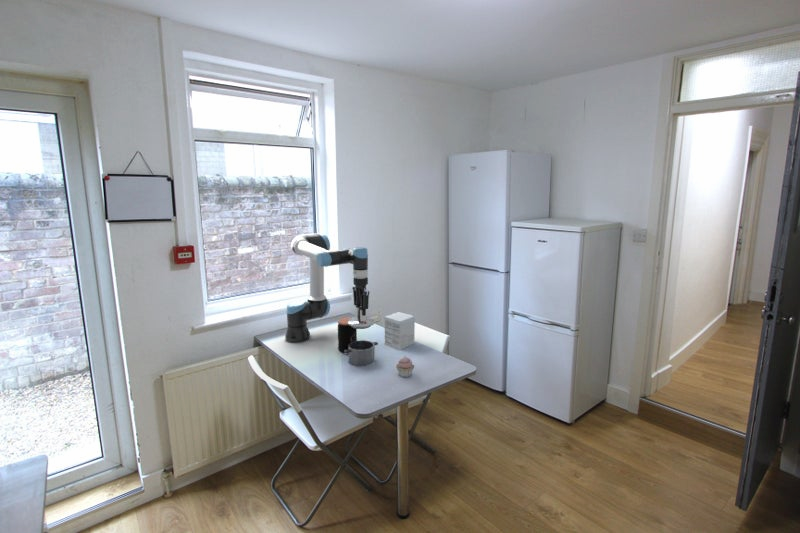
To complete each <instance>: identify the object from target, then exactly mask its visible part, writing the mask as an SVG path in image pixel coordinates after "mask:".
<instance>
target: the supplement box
mask: <svg viewBox="0 0 800 533" xmlns="http://www.w3.org/2000/svg"><path fill="white" fill-rule="evenodd" d="M415 320H416V318H415V316H414V315H412V314H409V313H406V312H405V313H404V312H400V311H397V312H395V313H394V312H393V313H390V314H388V315H385V316H384V345H385V346H389V347H391V348H395V349H397V350H403V349H405V348H407V347H410V346H411V345H414V344H415V326H416V325H415V322H416V321H415Z"/></svg>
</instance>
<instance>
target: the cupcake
mask: <svg viewBox="0 0 800 533" xmlns="http://www.w3.org/2000/svg"><path fill="white" fill-rule="evenodd" d="M395 368H396V370H397V371H398V373H397V374H398V376H399V377H400V378H403V379H405V378H407V379H408V378H409V377H411V376H412V374H413V371H414V369H415V364H413V361H412V360H411V359H410V358H409V357H407V356H404V357H403V358H401V359H399V361H397V364H396V366H395Z"/></svg>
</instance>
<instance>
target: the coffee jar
mask: <svg viewBox="0 0 800 533" xmlns="http://www.w3.org/2000/svg"><path fill="white" fill-rule="evenodd" d="M352 318H353V317H342V318H339V319H338V320H337V348H338V351H339V352H340V353H342V354H345V353H344V350H346V349H348V344H350V343H351V342H354V341H358V336H357V335H358V334H357V333H358V332H357V330H358V329H355V328H353V327H352V326H350V325H348V320H350V319H352Z"/></svg>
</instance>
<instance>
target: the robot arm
mask: <svg viewBox="0 0 800 533" xmlns="http://www.w3.org/2000/svg"><path fill="white" fill-rule="evenodd" d="M290 247H291V250H292V251H293V253H294V254H296V255H297V256H305V257H307V258H309V295H308V296H307V301H306V300H304V299H297V300H293V301H291V302H289V303H287V305H286V323H287V328H286V332H285V334H284V340H285V342H288V343H295V344H297V343H304V342H306V341H308V340H310V339H311V332H310V330H309V328H308V327H309V326H308V321H311V320H315V319H322V318H324V317H327V316H328V315H329V313H330V310H331V303H330V301H329V299H328V298H327V296H326V295H325V272H324V271H325V270H324V269H325V267H326V268H327V267H332V266H339V265H347V264H350V265H352V270H353V272H352V273H353V274H352V275H353V285H354V286H353V287H352V292H353V293H352V295H353V305H354V306H355V308H356V317H357V320H358V307H361V309H360V319H361V322H362V321H366V316H367V313H366V312H367V311H366V310H368V309H369V302H370V301H369V298H370V291H369V290H367V285H368V284H369V278H368V277H369V273H368V272H369V271H368V270H369V267H368V266H369V264H368V263H369V262H368V261H369V258H368V256H369V254H368V253H369V252H368V248H367V247H366V246H365V247H364V246H363V247H362V246H358V247H353V248H352V249H351V248H342V249H341V250H340V249H339V250H330V249H331V243H330V239H329V238H328V235H326V234H325V233H319V232H316V233H307V234H306V233H305V234H299V235H297V236H296V237H294V238H293V240H292V241H291V245H290Z"/></svg>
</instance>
